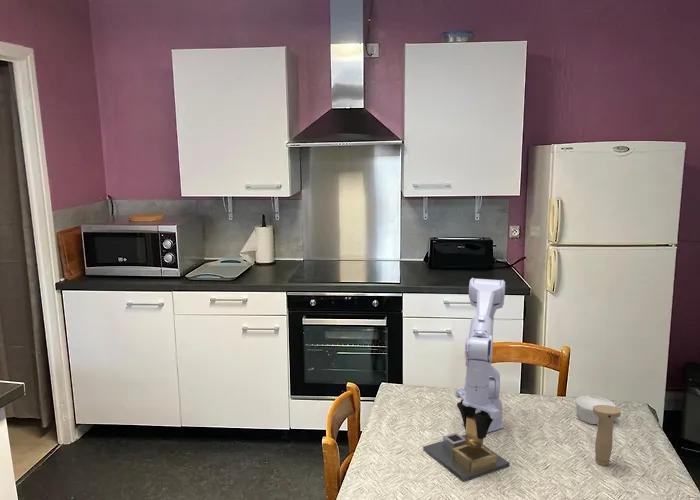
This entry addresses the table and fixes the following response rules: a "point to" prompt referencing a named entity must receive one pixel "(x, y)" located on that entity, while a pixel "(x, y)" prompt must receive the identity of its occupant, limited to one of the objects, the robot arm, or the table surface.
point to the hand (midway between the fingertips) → (475, 433)
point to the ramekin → (590, 407)
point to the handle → (604, 432)
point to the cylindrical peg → (472, 432)
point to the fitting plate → (465, 457)
